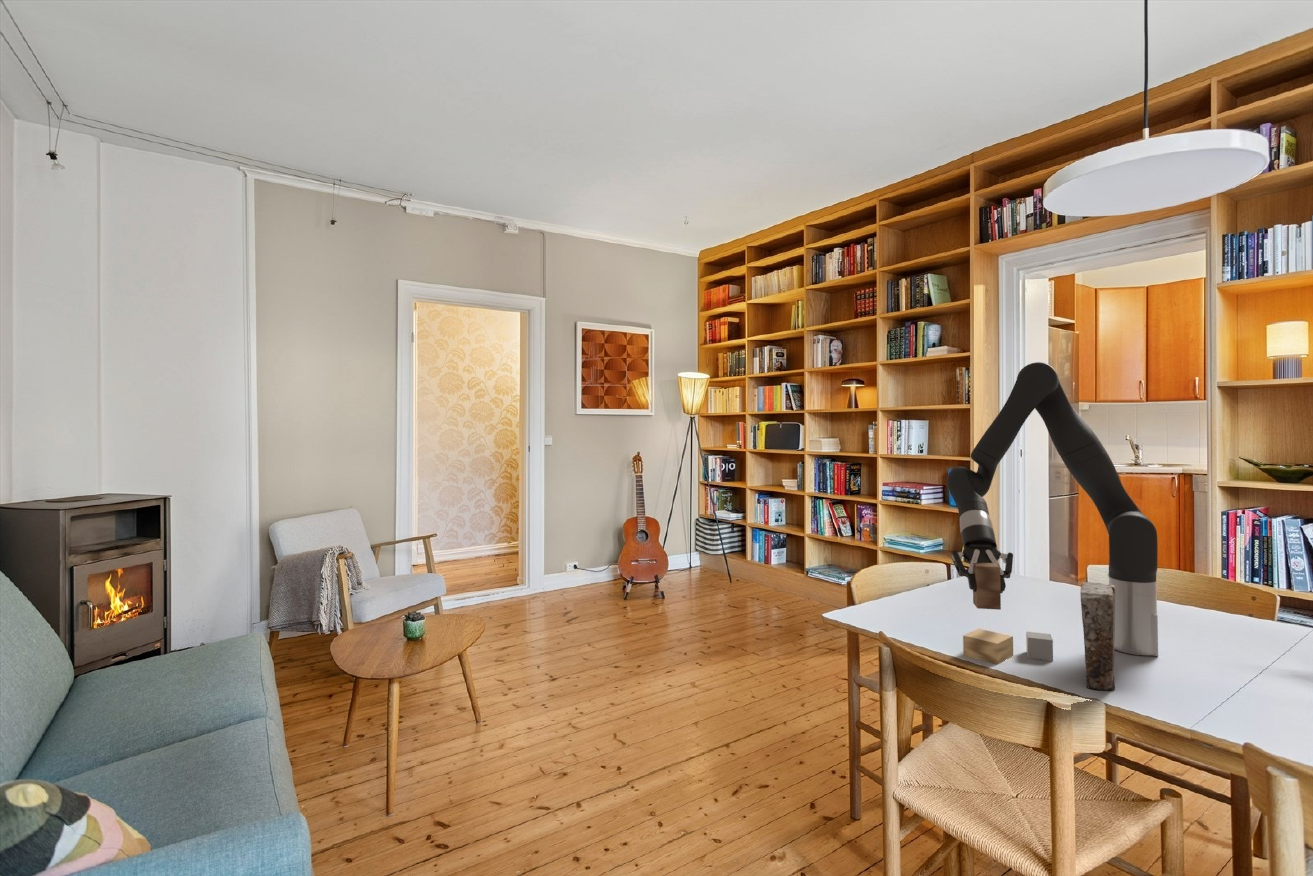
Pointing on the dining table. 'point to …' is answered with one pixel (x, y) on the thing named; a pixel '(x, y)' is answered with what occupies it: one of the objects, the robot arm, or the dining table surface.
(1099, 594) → the stone block
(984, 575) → the walnut pillar
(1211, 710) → the dining table surface
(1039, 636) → the grey cube
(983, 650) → the oak block
